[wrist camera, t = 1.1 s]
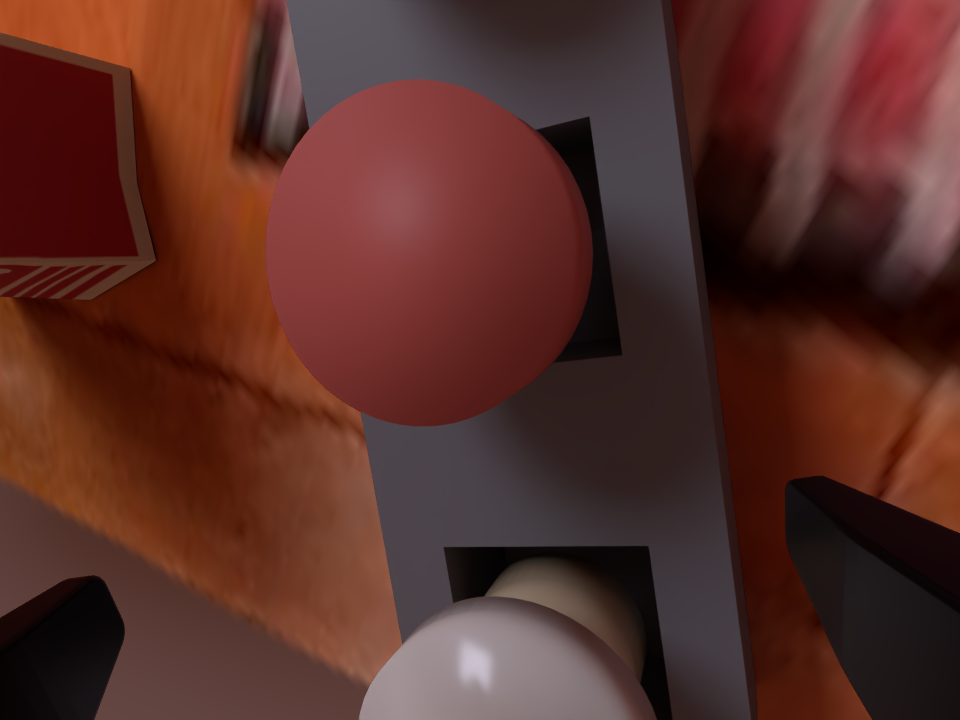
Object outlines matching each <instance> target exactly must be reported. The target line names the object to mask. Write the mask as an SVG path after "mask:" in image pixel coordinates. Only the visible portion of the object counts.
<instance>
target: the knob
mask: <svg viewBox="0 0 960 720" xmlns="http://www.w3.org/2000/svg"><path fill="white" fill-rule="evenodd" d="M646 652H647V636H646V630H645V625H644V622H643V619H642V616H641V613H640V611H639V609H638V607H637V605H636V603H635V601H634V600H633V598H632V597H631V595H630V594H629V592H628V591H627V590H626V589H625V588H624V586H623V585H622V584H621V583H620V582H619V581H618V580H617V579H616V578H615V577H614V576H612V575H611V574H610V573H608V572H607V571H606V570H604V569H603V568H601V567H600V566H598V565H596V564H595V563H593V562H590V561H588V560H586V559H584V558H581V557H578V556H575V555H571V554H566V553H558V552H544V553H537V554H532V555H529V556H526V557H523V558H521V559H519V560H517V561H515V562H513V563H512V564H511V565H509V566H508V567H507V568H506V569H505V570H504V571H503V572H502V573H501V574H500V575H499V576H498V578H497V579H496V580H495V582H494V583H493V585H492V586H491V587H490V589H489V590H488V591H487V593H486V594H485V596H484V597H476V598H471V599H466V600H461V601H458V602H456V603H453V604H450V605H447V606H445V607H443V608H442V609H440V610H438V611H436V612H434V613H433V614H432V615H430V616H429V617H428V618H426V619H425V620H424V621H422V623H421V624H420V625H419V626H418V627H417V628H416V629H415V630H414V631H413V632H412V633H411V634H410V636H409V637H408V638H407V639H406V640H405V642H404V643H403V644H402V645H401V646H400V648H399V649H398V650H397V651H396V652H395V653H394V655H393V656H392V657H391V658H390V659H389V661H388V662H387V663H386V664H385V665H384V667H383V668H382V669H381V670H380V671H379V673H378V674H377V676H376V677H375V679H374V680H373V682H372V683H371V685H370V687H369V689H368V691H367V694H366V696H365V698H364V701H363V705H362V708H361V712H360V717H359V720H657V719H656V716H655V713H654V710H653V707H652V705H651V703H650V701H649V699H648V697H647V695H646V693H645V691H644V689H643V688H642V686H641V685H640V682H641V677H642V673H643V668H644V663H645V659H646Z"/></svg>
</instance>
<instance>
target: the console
mask: <svg viewBox="0 0 960 720" xmlns="http://www.w3.org/2000/svg"><path fill="white" fill-rule="evenodd" d="M286 1H287V6H288V12H289V17H290V23H291V28H292V34H293V39H294V45H295V51H296V56H297V62H298V67H299V73H300V78H301V84H302V89H303V95H304V101H305V106H306V112H307V117H308V123H309V128H311V127H312V126H313V125H314V124H315V123H316V122H317V121H318V120H319V119H320V118H321V117H322V116H323V115H324V114H326V113H327V112H328V111H329V110H331V109H332V108H333V107H335V106H336V105H337V104H339V103H340V102H342V101H344V100H345V99H347V98H349V97H351V96H352V95H354V94H356V93H358V92H360V91H363V90H366V89H368V88H371V87H373V86H376V85H380V84H384V83H389V82H393V81H399V80H414V79H421V80H433V81H441V82H445V83H449V84H453V85H458V86H461V87H464V88H466V89H468V90H471V91H473V92H476V93H478V94H480V95H482V96H484V97H486V98H487V99H489V100H491V101H492V102H494V103H496V104H497V105H499V106H501V107H502V108H504V109H505V110H507V111H509V112H510V113H512V114H513V115H515V116H517V117H518V118H520V119H521V120H523V121H525V122H526V123H528V124H529V125H530V126H531V127H532V128H534V129H535V130H536V131H537V132H539V133H540V134H541V135H542V136H543V137H544V138H545V139H546V140H547V141H548V142H549V143H550V144H551V145H552V146H553V147H554V149H555V150H556V151H557V152H558V153H559V155H560V156H561V158H562V159H563V161H564V162H565V163H566V165H567V166H568V168H569V169H570V171H571V173H572V175H573V177H574V179H575V181H576V183H577V185H578V187H579V189H580V192H581V194H582V197H583V200H584V203H585V206H586V209H587V213H588V218H589V223H590V227H591V233H592V247H593V263H592V277H591V283H590V288H589V293H588V298H587V301H586V304H585V307H584V310H583V313H582V316H581V319H580V321H579V323H578V325H577V327H576V329H575V331H574V334H573V336H572V337H571V339H570V340H569V342H568V343H567V345H566V346H565V348H564V350H563V351H562V353H561V354H560V355H559V356H558V357H557V359H556V360H555V361H554V362H553V363H552V364H551V366H550V367H549V368H548V369H547V370H546V371H545V372H543V373H542V374H541V375H540V376H539V377H538V378H537V379H535V380H534V381H533V382H532V383H530V384H529V385H527V386H526V387H524V388H522V389H521V390H519V391H518V392H516V393H515V394H513V395H512V396H510V397H509V398H507V399H506V400H504V401H503V402H501V403H500V404H498V405H496V406H495V407H493V408H492V409H490V410H488V411H486V412H484V413H481V414H479V415H477V416H475V417H473V418H470V419H466V420H463V421H460V422H457V423H453V424H446V425H440V426H416V427H415V426H407V425H400V424H394V423H390V422H387V421H383V420H379V419H376V418H374V417H371V416H369V415H367V414H364V413H362V412H361V417H362V422H363V428H364V434H365V439H366V445H367V450H368V456H369V461H370V467H371V472H372V478H373V483H374V489H375V495H376V500H377V506H378V511H379V517H380V522H381V528H382V533H383V539H384V545H385V550H386V556H387V561H388V567H389V572H390V578H391V583H392V589H393V594H394V600H395V606H396V611H397V617H398V622H399V628H400V633H401V639H402V644H403V643H404V642H405V640H406V639H407V638H408V637H409V636H410V634H411V633H412V632H413V631H414V630H415V629H416V628H417V627H418V626H419V625H420V624H421V623H422V621H424V620H425V619H426V618H428V617H429V616H430V615H432V614H433V613H434V612H436V611H438V610H440V609H442V608H443V607H445V606H447V605H450V604H453V603H456V602H458V601H461V600H466V599H471V598H476V597H484V596H485V594H486V593H487V591H488V590H489V589H490V587H491V586H492V585H493V583H494V582H495V580H496V579H497V578H498V576H499V575H500V574H501V573H502V572H503V571H504V570H505V569H506V568H507V567H508V566H509V565H511V564H512V563H513V562H515V561H517V560H519V559H521V558H523V557H526V556H529V555H532V554H537V553H544V552H558V553H566V554H571V555H575V556H578V557H581V558H584V559H586V560H588V561H590V562H593V563H595V564H596V565H598V566H600V567H601V568H603V569H604V570H606V571H607V572H608V573H610V574H611V575H612V576H614V577H615V578H616V579H617V580H618V581H619V582H620V583H621V584H622V585H623V586H624V588H625V589H626V590H627V591H628V592H629V594H630V595H631V597H632V598H633V600H634V601H635V603H636V605H637V607H638V609H639V611H640V613H641V616H642V619H643V622H644V625H645V630H646V636H647V652H646V659H645V663H644V668H643V673H642V677H641V682H640V685H641V686H642V688H643V689H644V691H645V693H646V695H647V697H648V699H649V701H650V703H651V705H652V707H653V710H654V713H655V716H656V719H657V720H758V714H757V695H756V682H755V674H754V666H753V658H752V650H751V642H750V634H749V626H748V617H747V609H746V601H745V593H744V585H743V577H742V569H741V561H740V553H739V545H738V536H737V528H736V520H735V512H734V504H733V496H732V488H731V480H730V472H729V464H728V455H727V447H726V439H725V431H724V423H723V415H722V407H721V399H720V391H719V382H718V374H717V366H716V358H715V350H714V342H713V334H712V326H711V318H710V310H709V301H708V293H707V285H706V277H705V269H704V261H703V253H702V245H701V237H700V229H699V220H698V212H697V204H696V196H695V188H694V180H693V172H692V164H691V156H690V147H689V139H688V131H687V123H686V115H685V107H684V99H683V91H682V83H681V75H680V66H679V58H678V50H677V42H676V34H675V26H674V18H673V10H672V2H671V0H286Z"/></svg>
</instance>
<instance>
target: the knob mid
mask: <svg viewBox="0 0 960 720" xmlns="http://www.w3.org/2000/svg"><path fill="white" fill-rule="evenodd" d="M592 263H593V247H592V233H591V227H590V223H589V218H588V213H587V209H586V206H585V203H584V200H583V197H582V194H581V192H580V189H579V187H578V185H577V183H576V181H575V179H574V177H573V175H572V173H571V171H570V169H569V168H568V166H567V165H566V163H565V162H564V161H563V159H562V158H561V156H560V155H559V153H558V152H557V151H556V150H555V149H554V147H553V146H552V145H551V144H550V143H549V142H548V141H547V140H546V139H545V138H544V137H543V136H542V135H541V134H540V133H539V132H537V131H536V130H535V129H534V128H532V127H531V126H530V125H529V124H528V123H526V122H525V121H523V120H521V119H520V118H518V117H517V116H515V115H513V114H512V113H510V112H509V111H507V110H505V109H504V108H502V107H501V106H499V105H497V104H496V103H494V102H492V101H491V100H489V99H487V98H486V97H484V96H482V95H480V94H478V93H476V92H473V91H471V90H468V89H466V88H464V87H461V86H458V85H453V84H449V83H445V82H441V81H433V80H421V79H414V80H399V81H393V82H389V83H384V84H380V85H376V86H373V87H371V88H368V89H366V90H363V91H360V92H358V93H356V94H354V95H352V96H351V97H349V98H347V99H345V100H344V101H342V102H340V103H339V104H337V105H336V106H335V107H333V108H332V109H331V110H329V111H328V112H327V113H326V114H324V115H323V116H322V117H321V118H320V119H319V120H318V121H317V122H316V123H315V124H314V125H313V126H312V127H311V128H310V129H309V130H308V131H307V133H306V134H305V135H304V137H303V138H302V139H301V140H300V142H299V143H298V144H297V146H296V147H295V149H294V151H293V152H292V154H291V156H290V157H289V159H288V161H287V163H286V164H285V166H284V169H283V171H282V173H281V176H280V178H279V180H278V183H277V185H276V189H275V192H274V195H273V198H272V202H271V206H270V211H269V216H268V222H267V232H266V268H267V276H268V283H269V288H270V293H271V297H272V301H273V305H274V308H275V311H276V313H277V316H278V319H279V322H280V324H281V327H282V329H283V331H284V333H285V335H286V337H287V339H288V341H289V343H290V345H291V346H292V348H293V349H294V351H295V353H296V354H297V356H298V357H299V359H300V360H301V362H302V363H303V364H304V365H305V367H306V368H307V369H308V370H309V372H310V373H311V374H312V375H313V376H314V377H315V378H316V379H317V380H318V381H319V382H320V383H321V384H322V385H323V386H324V387H325V388H326V389H327V390H328V391H330V392H331V393H332V394H333V395H335V396H336V397H337V398H339V399H340V400H341V401H343V402H344V403H346V404H348V405H349V406H351V407H353V408H354V409H356V410H358V411H360V412H362V413H364V414H367V415H369V416H371V417H374V418H376V419H379V420H383V421H387V422H390V423H394V424H400V425H407V426H415V427H416V426H440V425H446V424H453V423H457V422H460V421H463V420H466V419H470V418H473V417H475V416H477V415H479V414H481V413H484V412H486V411H488V410H490V409H492V408H493V407H495V406H496V405H498V404H500V403H501V402H503V401H504V400H506V399H507V398H509V397H510V396H512V395H513V394H515V393H516V392H518V391H519V390H521V389H522V388H524V387H526V386H527V385H529V384H530V383H532V382H533V381H534V380H535V379H537V378H538V377H539V376H540V375H541V374H542V373H543V372H545V371H546V370H547V369H548V368H549V367H550V366H551V364H552V363H553V362H554V361H555V360H556V359H557V357H558V356H559V355H560V354H561V353H562V351H563V350H564V348H565V346H566V345H567V343H568V342H569V340H570V339H571V337H572V336H573V334H574V331H575V329H576V327H577V325H578V323H579V321H580V319H581V316H582V313H583V310H584V307H585V304H586V301H587V298H588V293H589V288H590V283H591V277H592Z"/></svg>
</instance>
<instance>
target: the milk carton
mask: <svg viewBox="0 0 960 720" xmlns="http://www.w3.org/2000/svg"><path fill="white" fill-rule="evenodd" d="M155 261H156V259H155V255H154V251H153V247H152V242H151V238H150V234H149V230H148V226H147V222H146V218H145V214H144V210H143V206H142V201H141V197H140V193H139V189H138V185H137V175H136V158H135V142H134V126H133V110H132V94H131V78H130V68H127V67H123V66H120V65H116V64H112V63H109V62H105V61H101V60H98V59H94V58H90V57H87V56H83V55H79V54H76V53H72V52H69V51H65V50H61V49H58V48H54V47H50V46H47V45H43V44H39V43H36V42H32V41H28V40H25V39H21V38H18V37H14V36H10V35H7V34H3V33H0V297H25V298H53V299H81V300H91V299H93V298H95V297H96V296H98V295H100V294H101V293H103V292H105V291H106V290H108V289H110V288H111V287H113V286H115V285H116V284H118V283H120V282H121V281H123V280H125V279H126V278H128V277H130V276H131V275H133V274H135V273H136V272H138V271H140V270H141V269H143V268H145V267H146V266H148V265H150V264H151V263H153V262H155Z"/></svg>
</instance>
